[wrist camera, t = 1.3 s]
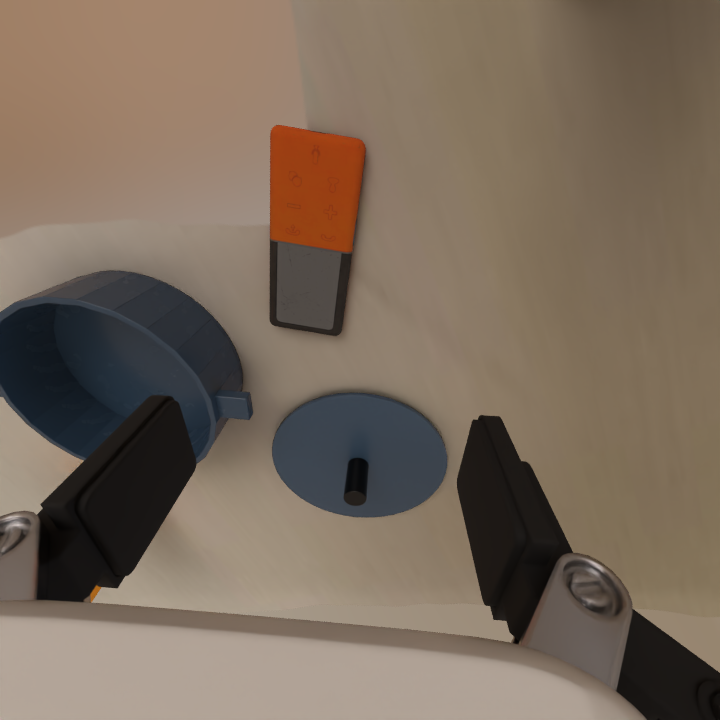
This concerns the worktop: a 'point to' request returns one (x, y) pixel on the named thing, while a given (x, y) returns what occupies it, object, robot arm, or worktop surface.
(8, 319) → the pot
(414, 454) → the lid
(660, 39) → the worktop surface
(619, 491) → the worktop surface
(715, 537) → the worktop surface
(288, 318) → the phone
